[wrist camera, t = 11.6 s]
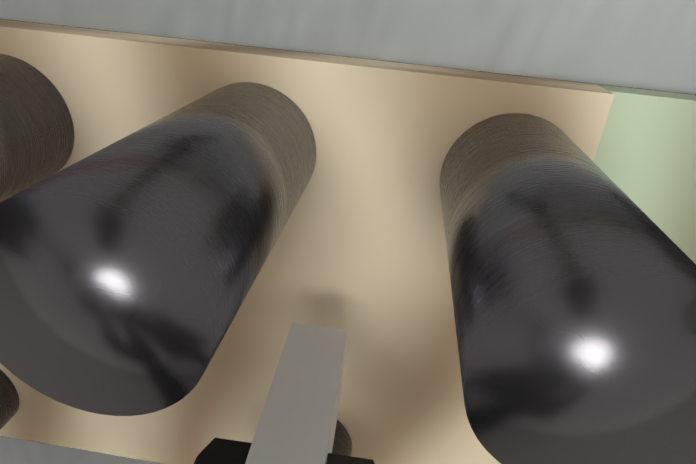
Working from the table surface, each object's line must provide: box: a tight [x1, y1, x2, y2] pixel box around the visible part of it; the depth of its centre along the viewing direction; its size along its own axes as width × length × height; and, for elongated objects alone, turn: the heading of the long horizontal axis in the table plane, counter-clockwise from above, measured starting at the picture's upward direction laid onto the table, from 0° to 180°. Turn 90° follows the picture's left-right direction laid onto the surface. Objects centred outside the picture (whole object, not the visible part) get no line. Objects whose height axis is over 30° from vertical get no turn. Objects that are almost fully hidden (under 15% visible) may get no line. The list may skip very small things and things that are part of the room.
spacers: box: [0, 54, 696, 464], centre depth 13 cm, size 22×15×8 cm
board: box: [0, 19, 696, 464], centre depth 17 cm, size 28×16×1 cm, turn 85°
